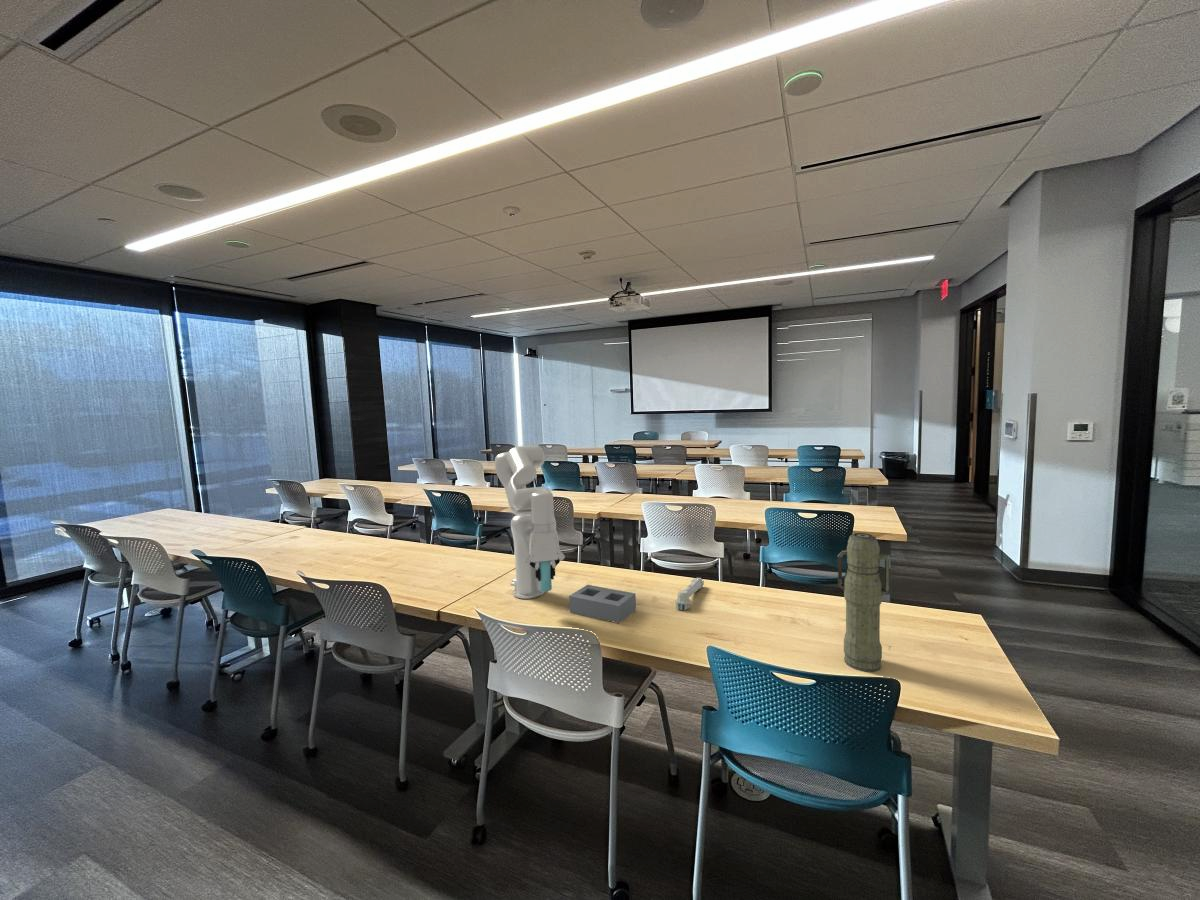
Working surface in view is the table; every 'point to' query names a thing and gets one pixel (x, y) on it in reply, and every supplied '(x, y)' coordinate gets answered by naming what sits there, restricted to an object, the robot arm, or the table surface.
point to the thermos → (863, 601)
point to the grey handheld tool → (688, 594)
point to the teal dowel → (545, 576)
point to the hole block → (602, 603)
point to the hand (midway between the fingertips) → (545, 578)
